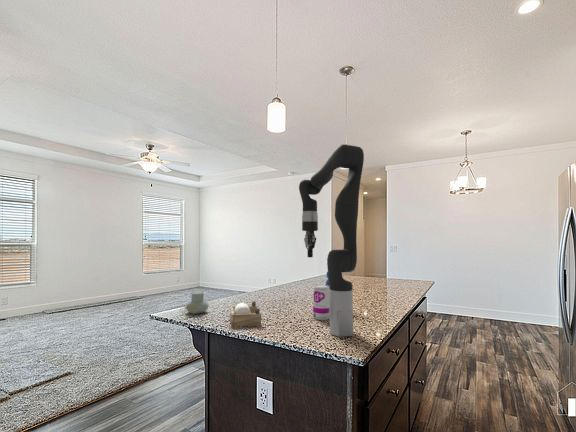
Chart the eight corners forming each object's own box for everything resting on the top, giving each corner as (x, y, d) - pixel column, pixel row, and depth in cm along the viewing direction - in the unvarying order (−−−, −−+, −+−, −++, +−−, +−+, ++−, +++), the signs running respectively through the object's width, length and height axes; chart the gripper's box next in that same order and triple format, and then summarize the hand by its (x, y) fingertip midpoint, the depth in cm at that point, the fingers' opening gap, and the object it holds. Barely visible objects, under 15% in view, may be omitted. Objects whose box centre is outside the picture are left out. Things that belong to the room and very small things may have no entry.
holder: (261, 325, 136) (261, 309, 137) (231, 327, 133) (231, 310, 134) (256, 315, 154) (256, 301, 154) (230, 317, 151) (230, 302, 151)
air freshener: (210, 311, 162) (211, 292, 163) (201, 315, 155) (202, 294, 155) (192, 310, 166) (193, 291, 167) (183, 313, 158) (183, 293, 159)
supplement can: (324, 321, 143) (324, 288, 145) (309, 318, 148) (309, 286, 149) (333, 317, 150) (333, 286, 151) (318, 315, 155) (318, 284, 156)
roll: (233, 322, 136) (248, 327, 137) (239, 306, 137) (254, 311, 139) (231, 315, 148) (246, 320, 150) (237, 300, 149) (251, 305, 151)
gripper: (321, 220, 145) (321, 258, 143) (313, 222, 158) (313, 256, 156) (306, 220, 143) (306, 258, 142) (299, 221, 156) (299, 256, 155)
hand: (310, 257), depth 149 cm, fingers closed
